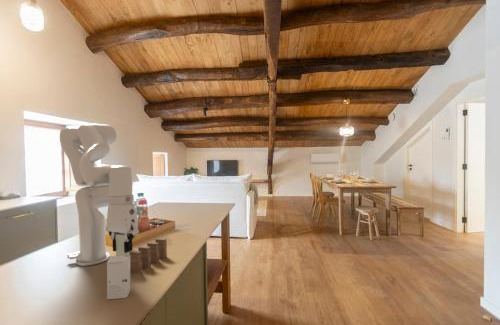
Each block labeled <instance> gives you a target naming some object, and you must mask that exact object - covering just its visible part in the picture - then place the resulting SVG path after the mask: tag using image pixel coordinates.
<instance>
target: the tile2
mask: <svg viewBox="0 0 500 325" xmlns="http://www.w3.org/2000/svg"><path fill="white" fill-rule="evenodd" d="M137 251H141V260H142V269H143V268H144V269H150V268H151V267H152V266H151V264H152V262H151V253H150V247H147V246H145V245H140V246H138V247H137Z"/></svg>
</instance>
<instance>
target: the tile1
mask: <svg viewBox="0 0 500 325" xmlns="http://www.w3.org/2000/svg"><path fill="white" fill-rule="evenodd" d="M129 252H130V274H131V273H132V274H137V275H139V274H141V273H142V272H143V267H142V260H141V251H138V250H133V249H132V251H129Z"/></svg>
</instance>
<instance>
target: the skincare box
mask: <svg viewBox="0 0 500 325" xmlns="http://www.w3.org/2000/svg"><path fill="white" fill-rule="evenodd" d="M106 261H107V262H106V268H107V270H106V271H107V272H106V278H107V279H106V284H107V285H106V299H107V300H116V299H117V300H118V299H125V298H128V296H129V294H130V292H131V272H130V255H126V256H116V255H114V256H113V255H112V256H111V255H110V258H109V259H108V260H106Z"/></svg>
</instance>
